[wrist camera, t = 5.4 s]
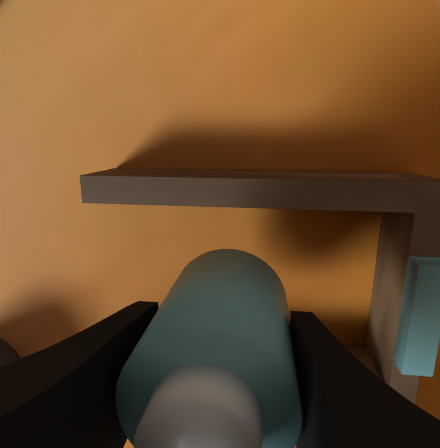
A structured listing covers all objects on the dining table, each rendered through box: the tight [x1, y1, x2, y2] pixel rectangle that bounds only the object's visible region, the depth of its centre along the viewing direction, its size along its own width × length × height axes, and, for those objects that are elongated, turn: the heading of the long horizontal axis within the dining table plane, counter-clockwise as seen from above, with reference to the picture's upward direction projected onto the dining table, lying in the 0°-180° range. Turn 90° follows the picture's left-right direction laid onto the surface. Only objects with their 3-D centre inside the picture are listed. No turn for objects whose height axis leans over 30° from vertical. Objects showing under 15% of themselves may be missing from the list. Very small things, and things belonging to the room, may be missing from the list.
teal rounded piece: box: [115, 249, 302, 448], centre depth 9 cm, size 4×4×6 cm
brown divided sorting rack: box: [80, 168, 440, 404], centre depth 15 cm, size 17×12×4 cm
